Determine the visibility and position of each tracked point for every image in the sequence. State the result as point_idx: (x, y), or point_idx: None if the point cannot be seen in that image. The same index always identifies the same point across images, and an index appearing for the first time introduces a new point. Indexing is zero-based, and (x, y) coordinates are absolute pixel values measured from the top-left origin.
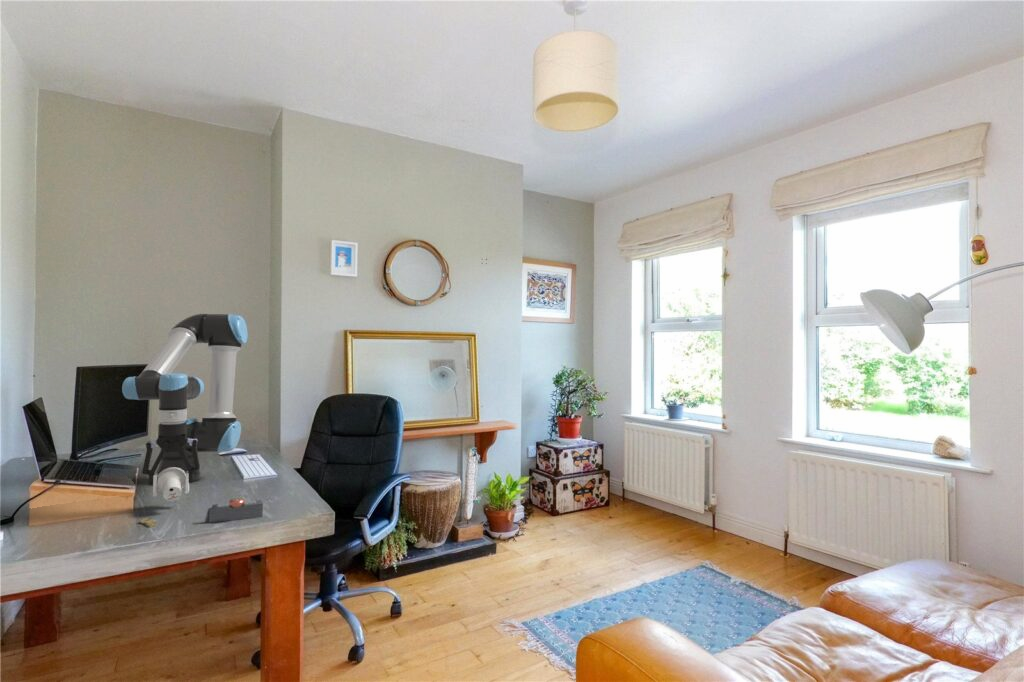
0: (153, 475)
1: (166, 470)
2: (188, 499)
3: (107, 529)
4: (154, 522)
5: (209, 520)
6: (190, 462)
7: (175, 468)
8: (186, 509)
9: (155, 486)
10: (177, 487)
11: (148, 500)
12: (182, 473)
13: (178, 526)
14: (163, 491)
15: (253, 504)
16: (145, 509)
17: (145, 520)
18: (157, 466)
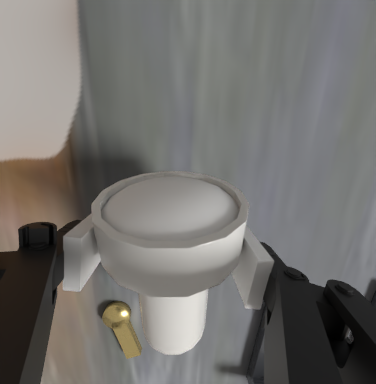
0: (61, 277)
1: (132, 267)
2: (231, 119)
3: None
4: (135, 348)
5: (248, 382)
6: (318, 320)
7: (193, 264)
8: None
9: None
10: (191, 348)
11: (103, 51)
12: (229, 272)
13: (185, 371)
14: (141, 318)
15: None
16: (104, 181)
17: (114, 324)
18: (45, 352)
